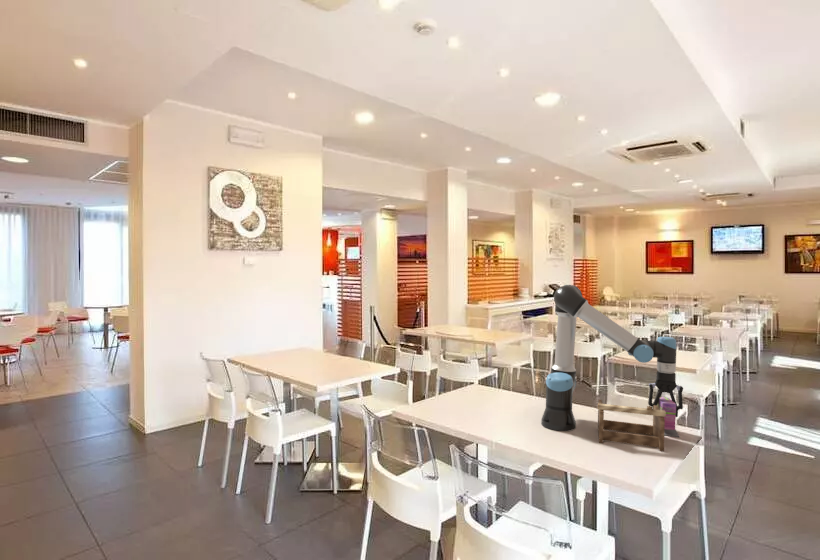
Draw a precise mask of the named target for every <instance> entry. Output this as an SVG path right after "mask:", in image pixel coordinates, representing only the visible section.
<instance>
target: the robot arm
mask: <svg viewBox="0 0 820 560" xmlns="http://www.w3.org/2000/svg"><path fill="white" fill-rule="evenodd" d="M553 302H554V304H555V305H554V306H555V307H554V312H555V314H556V315H557V323H556V324H557V326H556V343H555V351H554V354H555V355H554V363H553V365H552V366H551V367H550V373H549V374H547V376H546V379H545V384H546V386H545V408H544V411H543V414H542V417H541V420H540V422H541V425H542V426H543V427H545V428H546V429H548V430H554V431H559V432H560V431H561V432H564V431H565V432H567V431H573V430H575V429H576V426H577V423H576V419H575V415H574V413H573V412H574V411H573V393H574V390H575V389H576V386H577V379H576V377H577V376H576V375H577V369H576V368H575V366H574V358H575V346H576V345H575V343H576V334H577V333H576V329H577V318H578V319H580V320H582V322H584V323H585V324H587V325H588V326H590V327H591V328H593V329H594V330H596V331H597V332H599V333H600V334H601V335H603V336H604V337H606V338H607V339H608V340H610V341H612V342H613V343H614V344H615V345H617V346H618V347H619V348H621V349H622V350H625V352H627V354H628V355H629V356H632V357H633V358H634V359H635V360H636V361H638V362H640V363H643V364H644V363H645V364H646V363H649V362H651V360H652V359H653V358H656V379H655V380H656V381H655V382H653V383H651V382H649V383H648V386H649V394H648V401H647V404H648V406H651V407H652V408H653V405H656V406H657V404H658V401H659V399H660V397H662V396H661V395H662V394H663V393H666V394H669V396H670V399H671V400H672V401H673V402H674V403H675V404H676V418H677V417H678V416H679V414H678V413H679V410H683V409H684V407H683V405H684V404H683V403H684V402H683V390H684V387H683V386H682V385H677V383H676V381H677V380H676V379H677V378H676V374H677V369H676V368H677V367H676V366H677V339H676V338H674V337H671V336H658V337H657V339H656V340H647V339H646V340H645V339H640V338H638V336H635V335H634V334H632V333H631V332H630V331H628V330H627V329H625V328H624V327H622V326H621V325H619V324H618V323H617V322H616V321H614V320H612V319H611V318H609V317H608V316H607V315H605V314H603V312H601V311H599V310H598V309H597V308H595V307H594V306H592V305H591V304H589V301H588V299H587V298H585V297H583V293H582V291H581V290H580V289H579V287H578V286H576V285H575V284H566V285H565V284H564V285H562V286H559V287H558V288H557V289H556V290H555V292H554V294H553ZM655 388H657V393H656V396H655V397H654V389H655ZM675 389H676V390H677V398H678V400H677V401H678V404H677V401H676V399H675V395H674V390H675ZM653 399H654V400H653Z"/></svg>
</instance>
